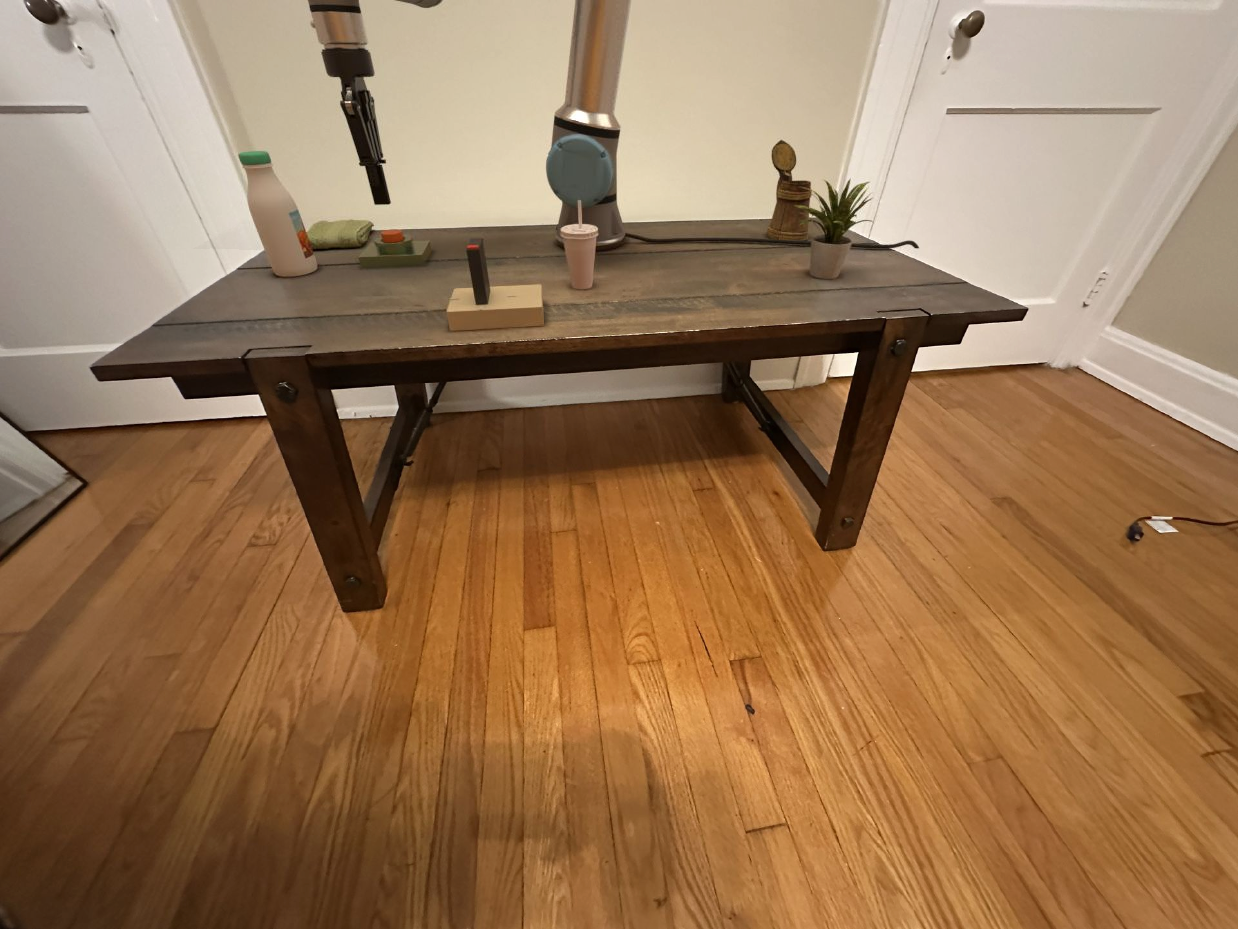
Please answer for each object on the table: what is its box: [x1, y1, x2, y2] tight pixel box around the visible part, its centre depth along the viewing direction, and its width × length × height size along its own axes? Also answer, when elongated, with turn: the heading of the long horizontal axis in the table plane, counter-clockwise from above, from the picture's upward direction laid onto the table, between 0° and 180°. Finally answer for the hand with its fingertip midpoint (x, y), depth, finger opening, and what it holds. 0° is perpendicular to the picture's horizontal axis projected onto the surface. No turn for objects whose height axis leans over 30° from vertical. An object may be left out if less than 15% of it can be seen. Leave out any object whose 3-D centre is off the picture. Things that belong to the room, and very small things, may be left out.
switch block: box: [358, 234, 433, 269], centre depth 107 cm, size 12×10×4 cm
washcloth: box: [306, 219, 375, 251], centre depth 119 cm, size 13×18×3 cm
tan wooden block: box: [445, 283, 545, 332], centre depth 83 cm, size 14×10×3 cm
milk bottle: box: [237, 150, 318, 278], centre depth 96 cm, size 8×8×20 cm
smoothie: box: [561, 200, 598, 290], centre depth 91 cm, size 6×6×14 cm
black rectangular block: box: [465, 237, 491, 305], centre depth 80 cm, size 6×2×8 cm, turn 7°
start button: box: [380, 228, 404, 242], centre depth 105 cm, size 4×4×2 cm
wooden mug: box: [766, 139, 813, 241], centre depth 116 cm, size 9×14×18 cm, turn 17°
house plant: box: [794, 178, 875, 280], centre depth 95 cm, size 14×14×16 cm
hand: (382, 203), depth 102 cm, fingers closed
